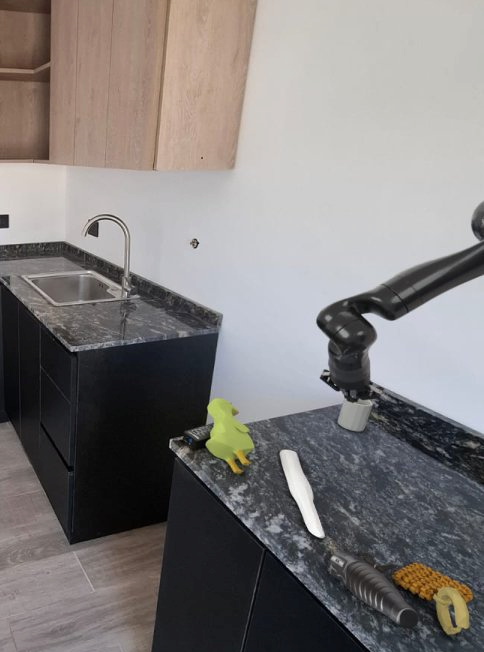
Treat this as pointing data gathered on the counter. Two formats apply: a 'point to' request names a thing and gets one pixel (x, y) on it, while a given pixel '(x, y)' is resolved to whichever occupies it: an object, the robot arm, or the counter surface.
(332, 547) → the counter surface
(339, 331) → the robot arm
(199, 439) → the multiport hub
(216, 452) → the toy
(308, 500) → the white long flat piece
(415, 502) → the counter surface
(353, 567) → the ribbed torch
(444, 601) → the ornament
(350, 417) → the pot
